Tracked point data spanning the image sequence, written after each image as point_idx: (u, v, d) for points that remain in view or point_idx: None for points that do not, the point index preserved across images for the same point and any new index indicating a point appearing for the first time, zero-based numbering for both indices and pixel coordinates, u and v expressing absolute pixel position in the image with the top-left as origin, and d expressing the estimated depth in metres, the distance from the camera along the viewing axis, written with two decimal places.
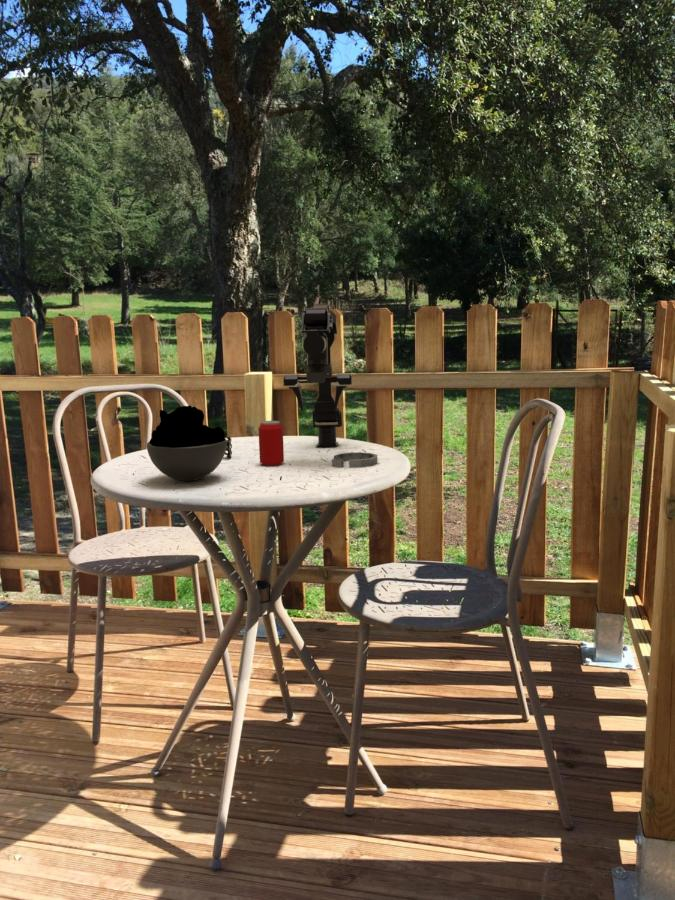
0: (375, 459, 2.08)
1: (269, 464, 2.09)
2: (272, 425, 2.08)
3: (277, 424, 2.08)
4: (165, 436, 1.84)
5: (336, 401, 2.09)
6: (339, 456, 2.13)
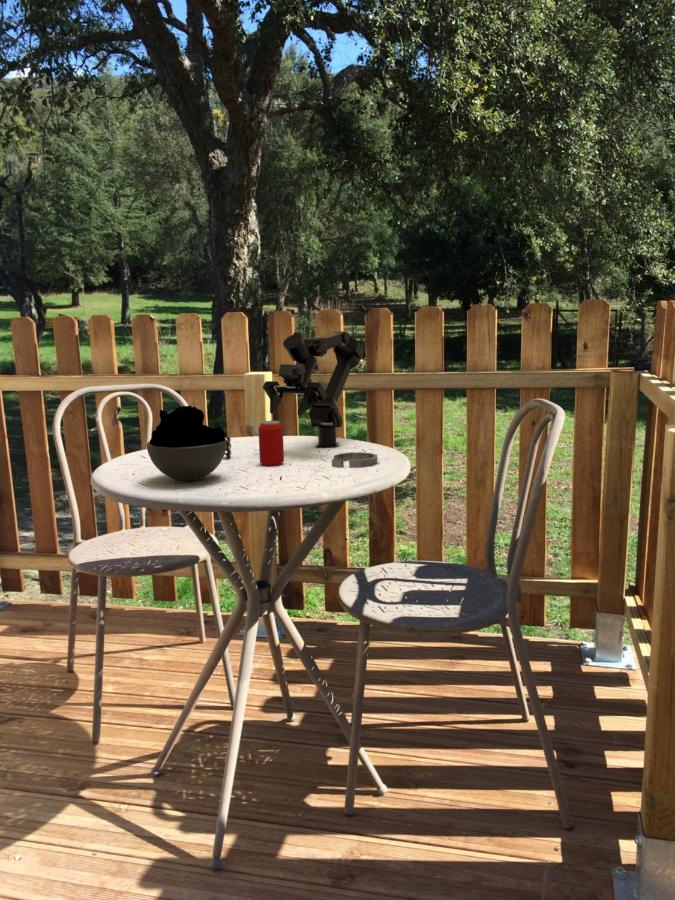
0: (375, 459, 2.08)
1: (269, 464, 2.09)
2: (272, 425, 2.08)
3: (277, 424, 2.08)
4: (165, 436, 1.84)
5: (301, 404, 2.15)
6: (339, 456, 2.13)
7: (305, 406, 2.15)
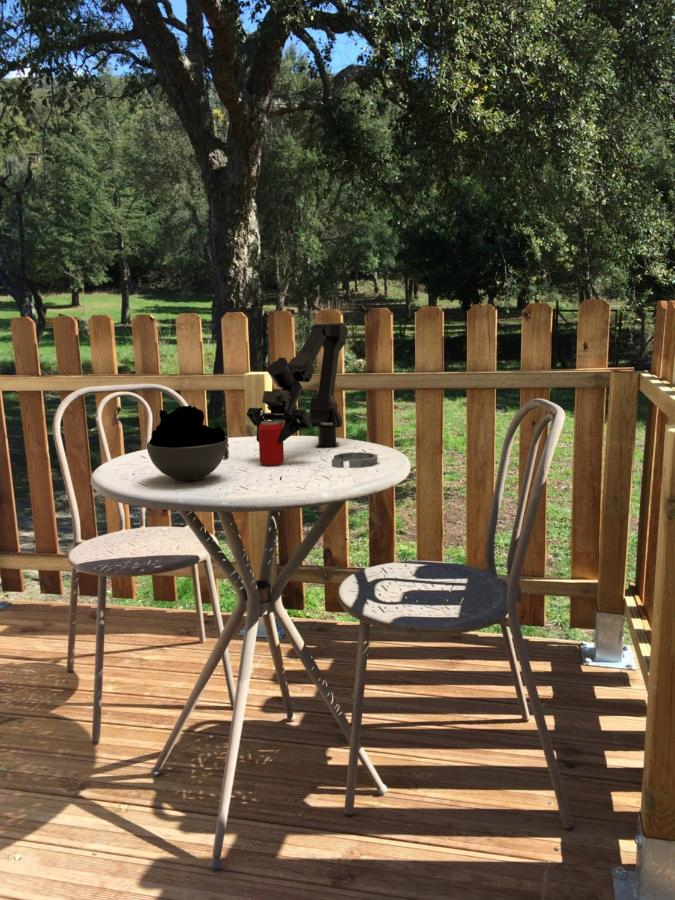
0: (375, 459, 2.08)
1: (269, 464, 2.09)
2: (272, 425, 2.08)
3: (277, 424, 2.08)
4: (165, 436, 1.84)
5: (282, 432, 2.09)
6: (339, 456, 2.13)
7: (286, 434, 2.09)
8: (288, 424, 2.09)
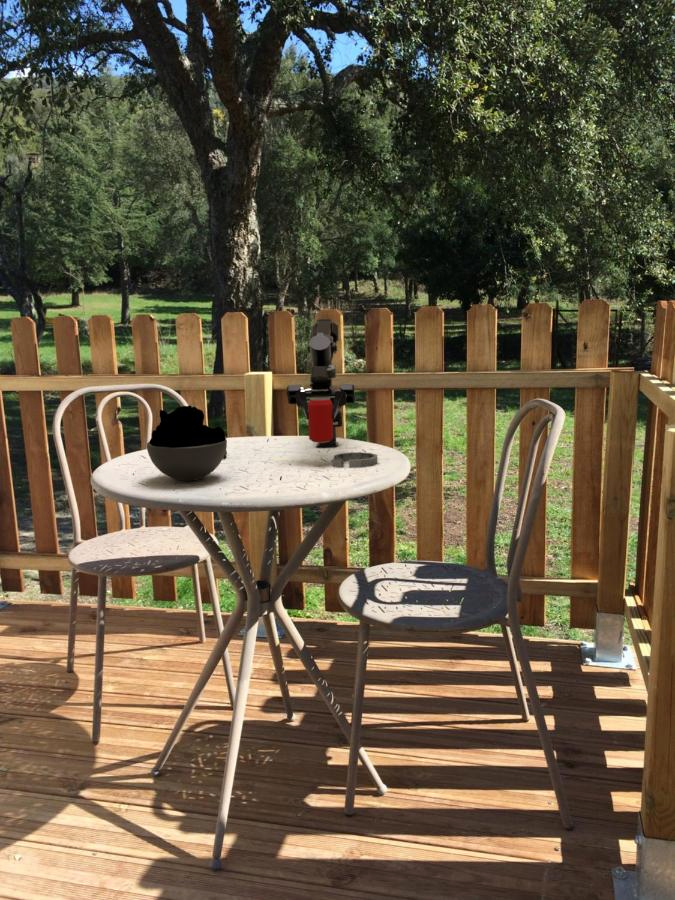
0: (375, 459, 2.08)
1: (324, 441, 2.05)
2: (326, 400, 2.04)
3: (329, 399, 2.05)
4: (165, 436, 1.84)
5: (334, 408, 2.06)
6: (339, 456, 2.13)
7: (337, 409, 2.07)
8: (339, 399, 2.07)
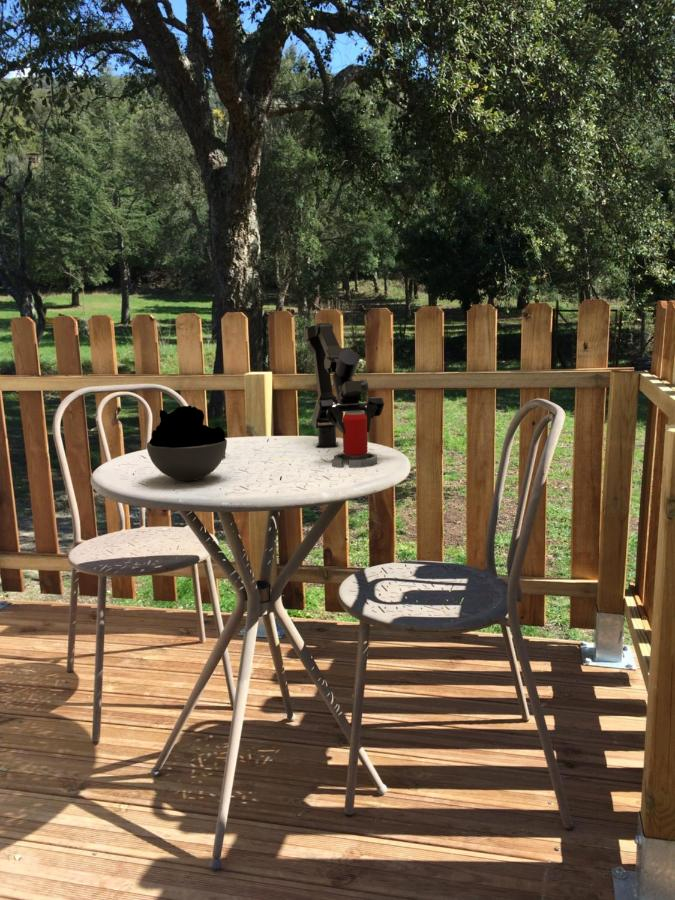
0: (375, 459, 2.08)
1: (361, 454, 2.08)
2: (363, 414, 2.07)
3: (364, 413, 2.09)
4: (165, 436, 1.84)
5: (368, 421, 2.10)
6: (339, 456, 2.13)
7: None
8: (371, 412, 2.11)
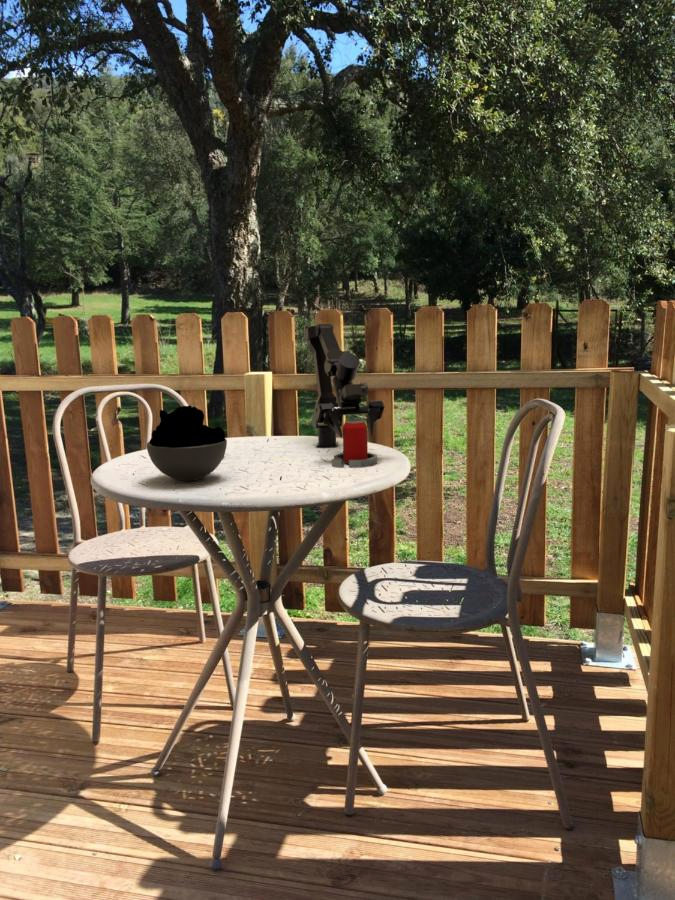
0: (375, 459, 2.08)
1: None
2: (363, 423, 2.07)
3: (364, 422, 2.09)
4: (165, 436, 1.84)
5: (371, 424, 2.10)
6: (339, 456, 2.13)
7: None
8: (374, 416, 2.11)
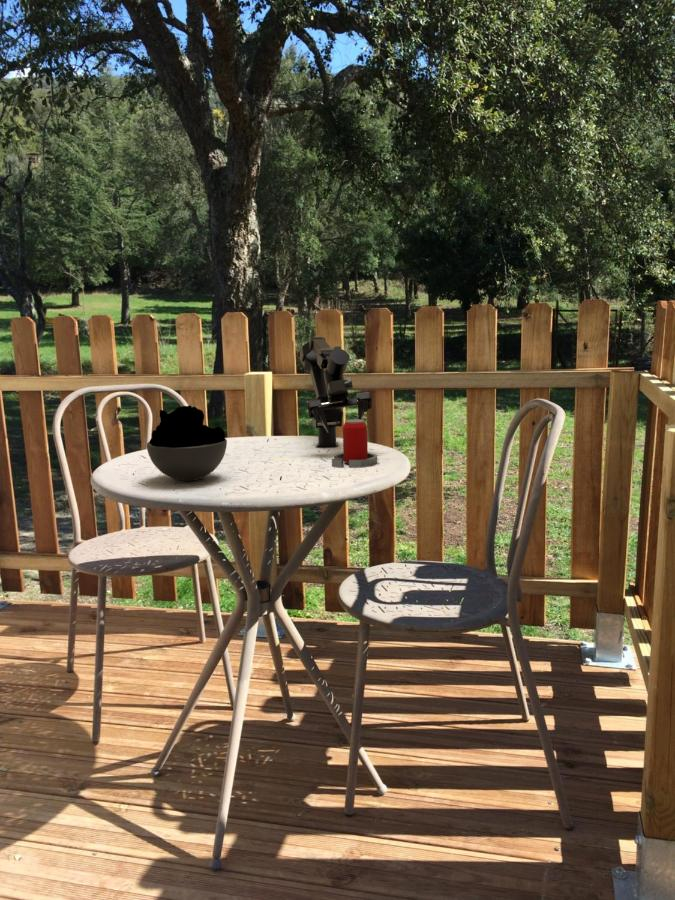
0: (375, 459, 2.08)
1: None
2: (363, 423, 2.07)
3: (364, 422, 2.09)
4: (165, 436, 1.84)
5: (359, 417, 2.18)
6: (339, 456, 2.13)
7: None
8: (362, 408, 2.19)
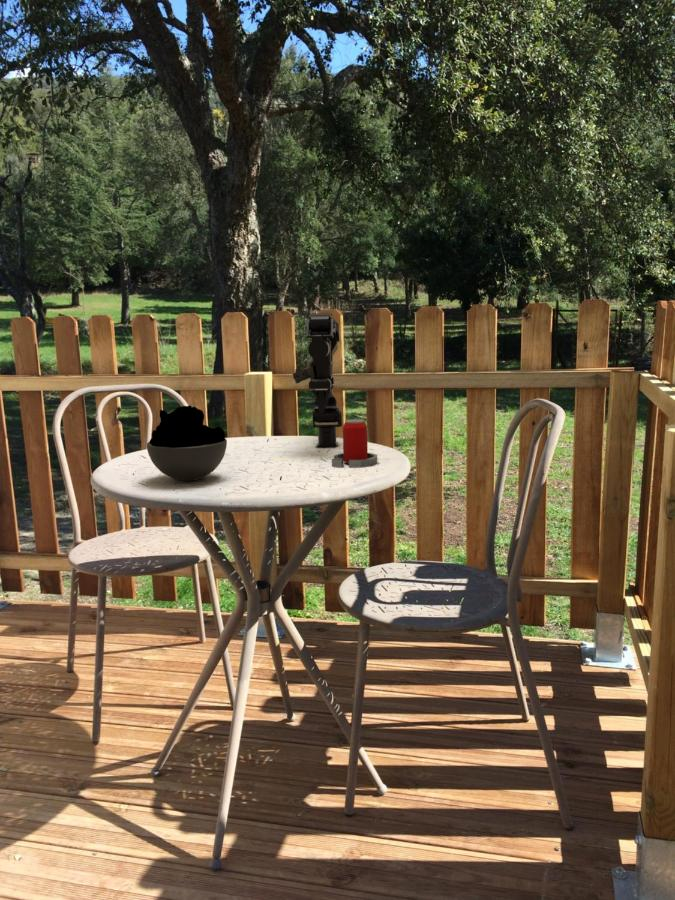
0: (375, 459, 2.08)
1: None
2: (363, 423, 2.07)
3: (364, 422, 2.09)
4: (165, 436, 1.84)
5: (317, 404, 2.19)
6: (339, 456, 2.13)
7: (321, 403, 2.18)
8: (315, 395, 2.17)
